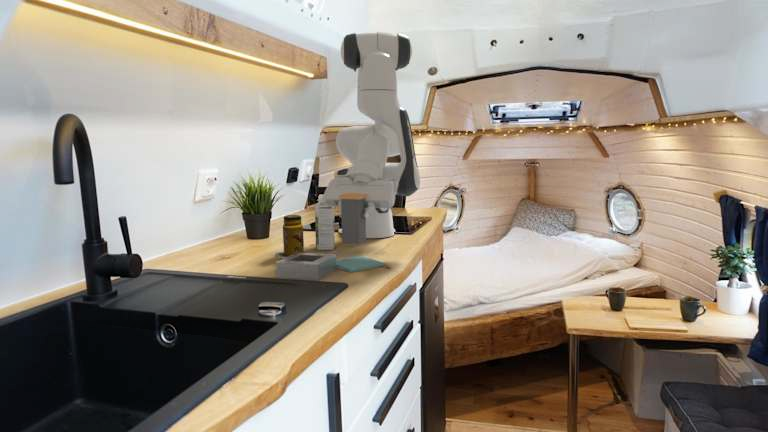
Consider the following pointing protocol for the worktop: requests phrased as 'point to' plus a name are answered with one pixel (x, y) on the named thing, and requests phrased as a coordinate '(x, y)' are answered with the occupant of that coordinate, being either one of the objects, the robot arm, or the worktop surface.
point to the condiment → (292, 236)
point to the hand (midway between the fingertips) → (352, 217)
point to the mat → (357, 263)
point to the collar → (306, 266)
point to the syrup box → (324, 226)
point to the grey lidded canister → (353, 218)
